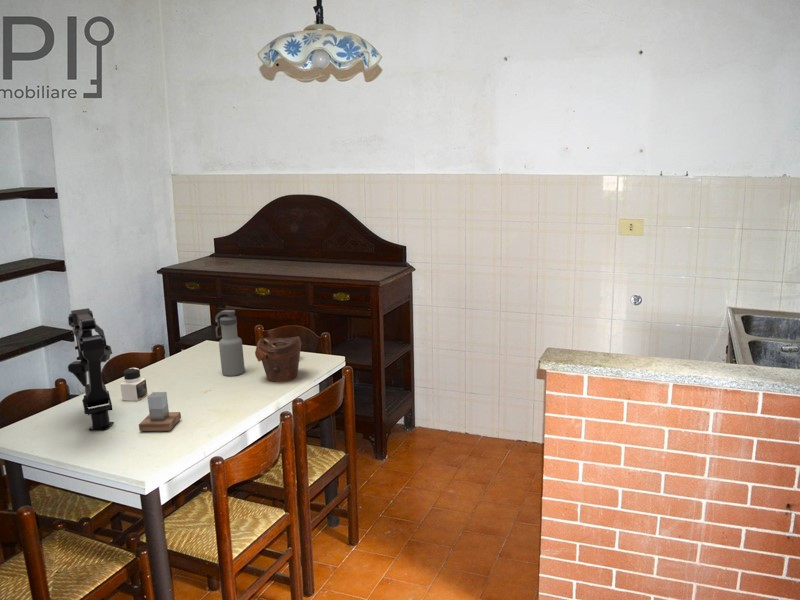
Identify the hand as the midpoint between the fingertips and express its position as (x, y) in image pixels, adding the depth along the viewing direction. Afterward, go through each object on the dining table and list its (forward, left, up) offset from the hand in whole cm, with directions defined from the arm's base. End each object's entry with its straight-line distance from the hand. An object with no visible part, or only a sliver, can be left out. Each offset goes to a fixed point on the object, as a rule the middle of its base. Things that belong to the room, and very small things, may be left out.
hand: (91, 382), depth 266 cm
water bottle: (+45, -40, -13) cm, 62 cm away
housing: (-12, -30, -10) cm, 34 cm away
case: (+38, -63, -13) cm, 75 cm away
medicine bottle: (+17, -8, -13) cm, 23 cm away
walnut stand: (-12, -30, -13) cm, 35 cm away
